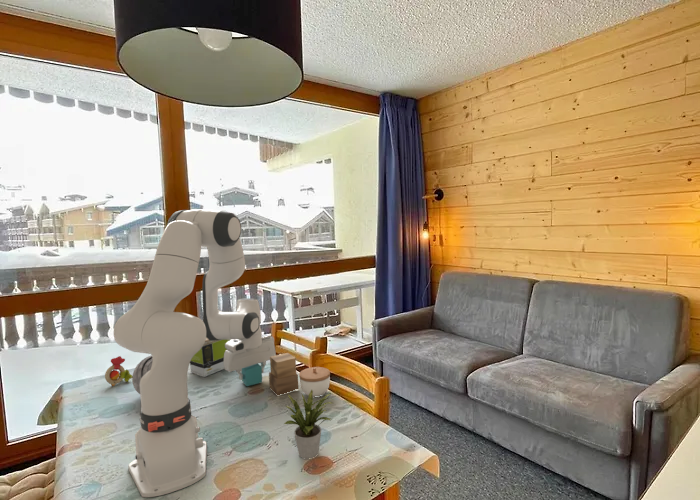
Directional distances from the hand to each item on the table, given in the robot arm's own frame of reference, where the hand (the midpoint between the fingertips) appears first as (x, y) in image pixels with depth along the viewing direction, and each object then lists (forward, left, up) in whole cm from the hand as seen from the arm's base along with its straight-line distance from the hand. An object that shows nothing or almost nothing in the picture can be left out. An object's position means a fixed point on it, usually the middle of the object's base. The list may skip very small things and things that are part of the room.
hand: (251, 376), depth 148 cm
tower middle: (-12, -8, +3) cm, 15 cm away
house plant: (-54, 0, -3) cm, 54 cm away
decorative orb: (+9, +32, -3) cm, 33 cm away
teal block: (0, 0, -2) cm, 2 cm away
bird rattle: (+30, +44, -3) cm, 53 cm away
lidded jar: (-22, -16, -3) cm, 27 cm away
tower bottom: (-12, -8, -3) cm, 15 cm away
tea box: (+24, +10, -3) cm, 26 cm away
